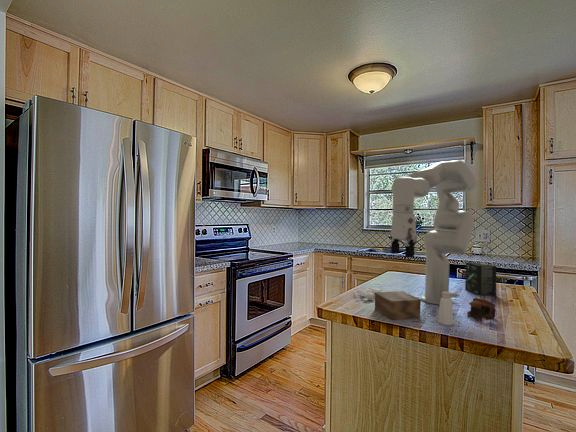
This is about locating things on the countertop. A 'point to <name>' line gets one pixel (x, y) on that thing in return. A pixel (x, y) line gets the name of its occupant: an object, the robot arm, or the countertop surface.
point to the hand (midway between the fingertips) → (402, 255)
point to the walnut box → (397, 305)
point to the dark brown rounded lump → (481, 309)
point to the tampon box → (480, 278)
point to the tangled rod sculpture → (368, 293)
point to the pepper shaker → (445, 310)
